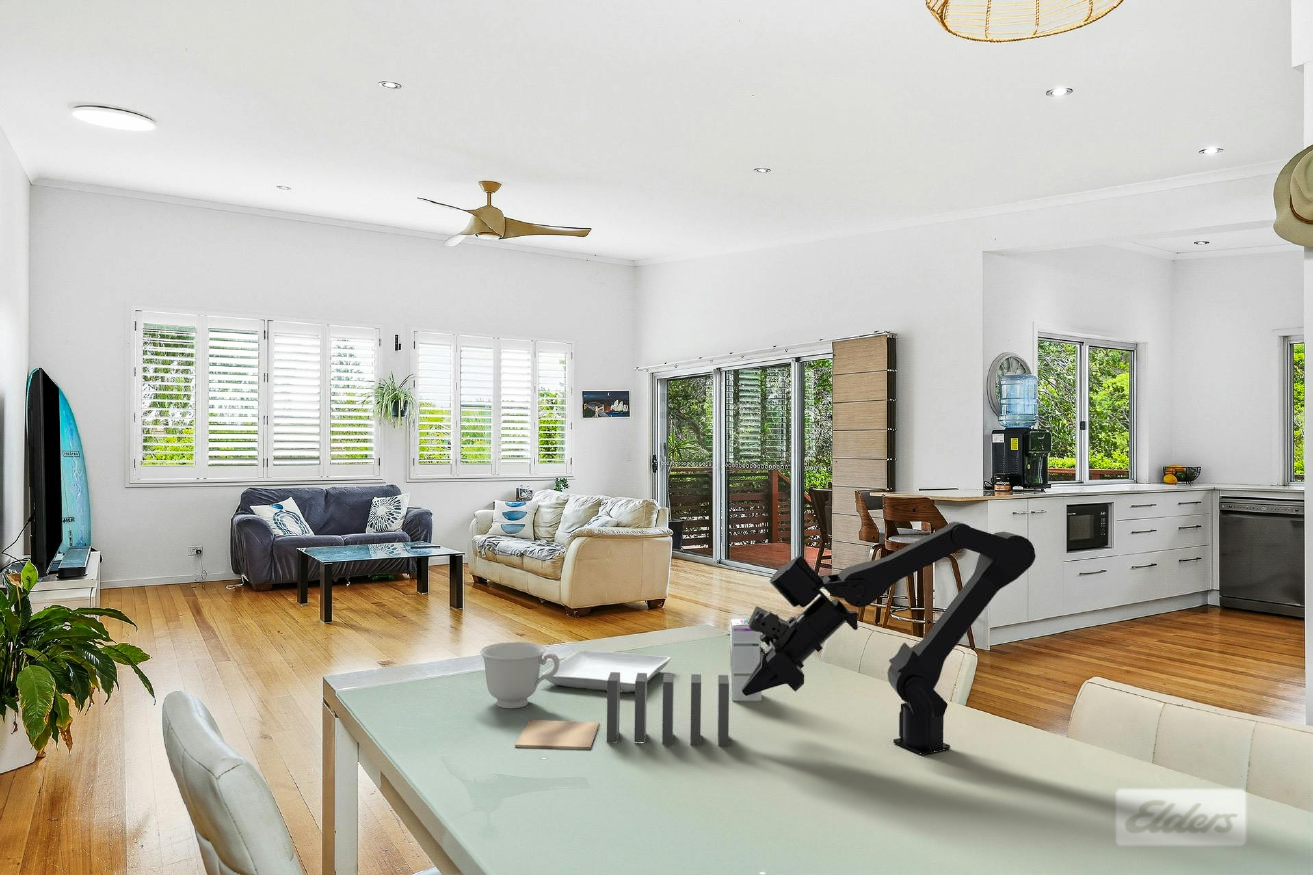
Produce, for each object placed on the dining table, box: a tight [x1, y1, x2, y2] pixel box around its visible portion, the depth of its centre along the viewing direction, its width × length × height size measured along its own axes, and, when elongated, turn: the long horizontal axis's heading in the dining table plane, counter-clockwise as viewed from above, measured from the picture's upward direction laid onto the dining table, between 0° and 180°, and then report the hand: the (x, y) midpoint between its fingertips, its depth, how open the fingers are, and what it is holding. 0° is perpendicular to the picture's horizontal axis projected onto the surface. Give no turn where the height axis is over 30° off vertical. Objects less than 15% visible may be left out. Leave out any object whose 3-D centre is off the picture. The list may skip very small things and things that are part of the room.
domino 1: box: [606, 672, 621, 743], centre depth 139 cm, size 2×5×10 cm, turn 177°
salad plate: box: [541, 650, 671, 693], centre depth 173 cm, size 21×21×3 cm
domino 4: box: [689, 673, 702, 746], centre depth 138 cm, size 2×5×10 cm, turn 177°
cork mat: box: [514, 719, 600, 750], centre depth 139 cm, size 12×12×1 cm
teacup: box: [479, 641, 560, 709], centre depth 156 cm, size 12×15×10 cm
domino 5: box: [717, 674, 730, 747], centre depth 138 cm, size 2×5×10 cm, turn 177°
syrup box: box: [729, 618, 762, 702], centre depth 162 cm, size 6×6×14 cm
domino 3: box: [661, 673, 675, 745], centre depth 138 cm, size 2×5×10 cm, turn 177°
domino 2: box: [633, 673, 648, 743], centre depth 139 cm, size 2×5×10 cm, turn 177°
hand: (743, 693), depth 138 cm, fingers closed
